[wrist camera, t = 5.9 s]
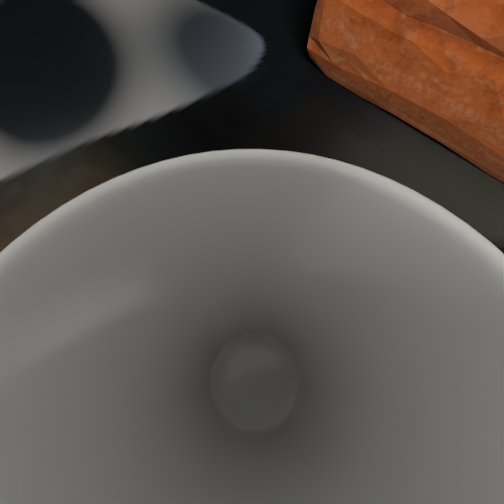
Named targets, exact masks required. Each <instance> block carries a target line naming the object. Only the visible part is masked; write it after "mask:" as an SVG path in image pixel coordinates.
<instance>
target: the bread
mask: <svg viewBox="0 0 504 504" xmlns="http://www.w3.org/2000/svg"><path fill="white" fill-rule="evenodd" d="M307 50H308V54H309V57H310V58H311V59H312V60H313V62H314V63H315V64H316V65H317V66H318V67H319V68H320V69H321V70H322V71H323V73H324V74H325V75H326V76H327V77H329V78H331V79H332V80H334V81H336V82H337V83H339V84H340V85H342V86H344V87H345V88H347V89H349V90H350V91H352V92H354V93H355V94H357V95H358V96H360V97H362V98H364V99H366V100H368V101H369V102H371V103H373V104H375V105H377V106H379V107H380V108H382V109H384V110H386V111H388V112H390V113H391V114H393V115H395V116H397V117H399V118H400V119H402V120H404V121H405V122H407V123H409V124H410V125H412V126H414V127H415V128H417V129H419V130H420V131H422V132H424V133H425V134H427V135H429V136H430V137H432V138H434V139H436V140H437V141H439V142H441V143H442V144H444V145H445V146H447V147H448V148H450V149H451V150H453V151H454V152H456V153H457V154H459V155H460V156H462V157H464V158H465V159H467V160H468V161H470V162H471V163H473V164H474V165H476V166H477V167H479V168H480V169H482V170H483V171H485V172H486V173H488V174H490V175H491V176H493V177H495V178H496V179H498V180H500V181H501V182H503V183H504V0H317V3H316V7H315V11H314V15H313V20H312V25H311V30H310V35H309V40H308V45H307Z"/></svg>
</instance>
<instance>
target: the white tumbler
mask: <svg viewBox="0 0 504 504" xmlns="http://www.w3.org/2000/svg"><path fill="white" fill-rule="evenodd" d="M0 504H504V253H503V252H501V251H500V250H499V249H498V248H497V247H496V246H495V245H494V244H493V243H491V242H490V241H489V240H488V239H486V238H485V237H484V236H482V235H481V234H480V233H479V232H477V231H476V230H475V229H473V228H472V227H471V226H470V225H468V224H467V223H466V222H464V221H463V220H461V219H460V218H458V217H457V216H455V215H454V214H452V213H451V212H449V211H448V210H446V209H445V208H444V207H442V206H441V205H439V204H437V203H435V202H434V201H432V200H430V199H428V198H427V197H425V196H423V195H421V194H420V193H418V192H416V191H414V190H412V189H410V188H408V187H406V186H404V185H402V184H400V183H398V182H396V181H394V180H392V179H390V178H387V177H385V176H382V175H380V174H377V173H374V172H372V171H369V170H367V169H364V168H361V167H358V166H355V165H352V164H348V163H345V162H342V161H339V160H335V159H330V158H326V157H321V156H317V155H313V154H306V153H299V152H293V151H284V150H271V149H231V150H218V151H209V152H203V153H196V154H190V155H185V156H181V157H176V158H172V159H168V160H163V161H160V162H157V163H154V164H151V165H147V166H144V167H141V168H138V169H135V170H133V171H130V172H128V173H125V174H123V175H120V176H118V177H115V178H113V179H111V180H109V181H106V182H104V183H102V184H100V185H98V186H96V187H94V188H92V189H90V190H88V191H86V192H84V193H83V194H81V195H79V196H77V197H76V198H74V199H72V200H70V201H69V202H67V203H65V204H64V205H62V206H60V207H59V208H57V209H56V210H55V211H53V212H52V213H50V214H49V215H47V216H46V217H44V218H43V219H41V220H40V221H38V222H37V223H36V224H34V225H33V226H32V227H30V228H29V229H28V230H27V231H25V232H24V233H23V234H21V235H20V236H19V237H18V238H16V239H15V240H14V241H12V242H11V243H10V244H9V245H8V246H7V247H6V248H5V249H4V250H2V251H1V252H0Z"/></svg>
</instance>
